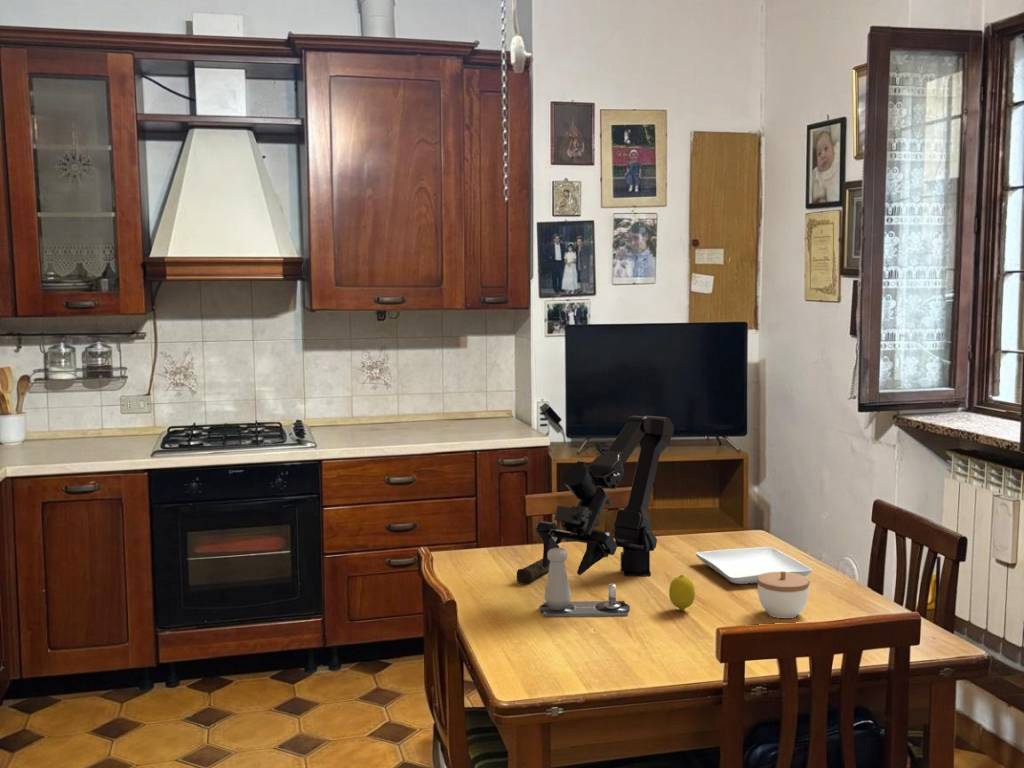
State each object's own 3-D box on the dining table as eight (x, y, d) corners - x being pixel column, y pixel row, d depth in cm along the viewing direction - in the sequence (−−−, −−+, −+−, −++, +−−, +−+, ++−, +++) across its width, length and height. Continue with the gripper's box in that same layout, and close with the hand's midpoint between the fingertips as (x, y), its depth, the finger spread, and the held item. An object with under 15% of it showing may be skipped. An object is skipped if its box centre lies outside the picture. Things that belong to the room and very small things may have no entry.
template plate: (628, 603, 229) (627, 600, 229) (631, 615, 221) (631, 613, 221) (539, 604, 230) (539, 601, 230) (540, 616, 222) (539, 614, 222)
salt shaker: (566, 612, 222) (566, 553, 221) (541, 610, 224) (540, 551, 222) (574, 604, 228) (573, 546, 226) (549, 601, 229) (548, 544, 228)
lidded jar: (819, 617, 218) (820, 574, 217) (779, 626, 214) (780, 582, 213) (785, 603, 228) (785, 561, 227) (746, 611, 223) (746, 568, 222)
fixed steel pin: (619, 604, 227) (619, 582, 226) (621, 609, 224) (621, 587, 223) (603, 604, 227) (603, 582, 227) (604, 609, 224) (604, 587, 223)
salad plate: (814, 582, 243) (814, 568, 243) (731, 591, 238) (731, 576, 237) (771, 558, 263) (771, 545, 263) (693, 565, 258) (693, 552, 258)
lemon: (696, 607, 226) (696, 572, 225) (692, 615, 221) (692, 579, 220) (671, 605, 228) (671, 570, 227) (666, 613, 222) (666, 577, 222)
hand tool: (530, 586, 243) (530, 567, 243) (515, 583, 245) (515, 564, 245) (570, 566, 259) (570, 548, 258) (556, 564, 261) (556, 546, 261)
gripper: (538, 486, 234) (510, 545, 226) (609, 496, 222) (581, 558, 215) (559, 512, 241) (532, 570, 233) (628, 523, 229) (602, 585, 222)
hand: (560, 570), depth 226 cm, fingers open, 9 cm apart
